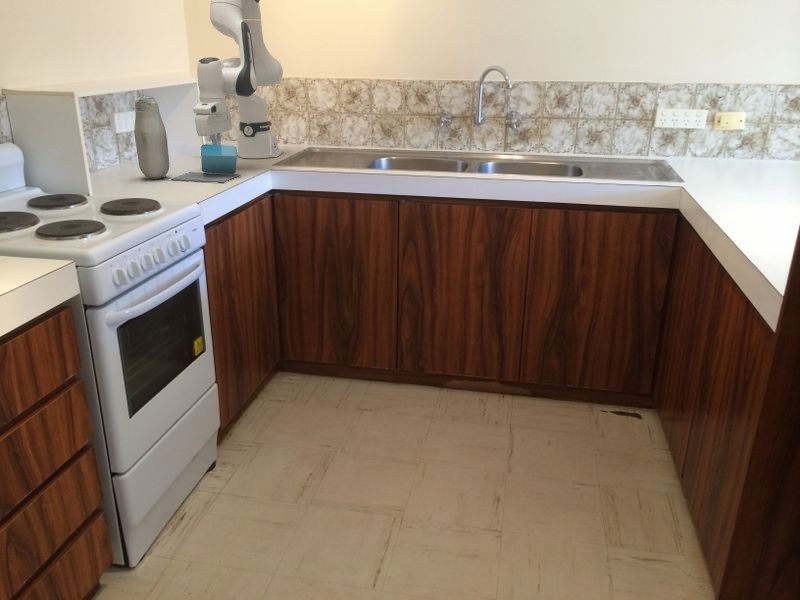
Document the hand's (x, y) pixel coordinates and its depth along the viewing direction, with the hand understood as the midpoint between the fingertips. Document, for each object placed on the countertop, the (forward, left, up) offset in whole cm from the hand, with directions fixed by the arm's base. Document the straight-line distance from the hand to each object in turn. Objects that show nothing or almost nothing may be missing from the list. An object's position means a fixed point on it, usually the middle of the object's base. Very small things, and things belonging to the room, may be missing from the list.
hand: (216, 146), depth 243 cm
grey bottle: (+14, -17, -10) cm, 24 cm away
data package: (+1, 0, -8) cm, 8 cm away
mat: (+10, 0, -10) cm, 14 cm away
